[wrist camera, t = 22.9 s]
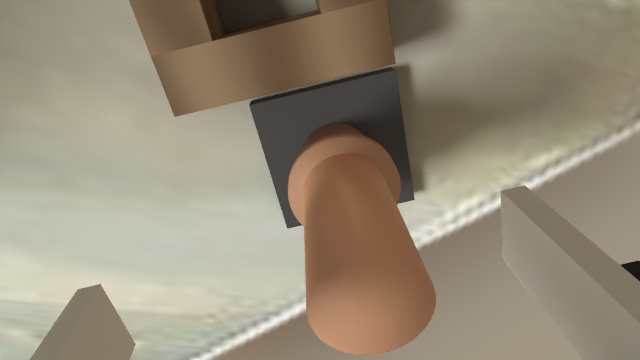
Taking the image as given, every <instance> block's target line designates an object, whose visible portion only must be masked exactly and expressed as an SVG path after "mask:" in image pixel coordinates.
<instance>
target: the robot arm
mask: <svg viewBox="0 0 640 360" xmlns="http://www.w3.org/2000/svg"><path fill="white" fill-rule="evenodd" d="M501 215H502V245H503V261H504V262H505V263H506V265H507V266H508V267H509V268H510V270H511V271H512V272H513V274H514V275H515V276H516V277H517V279H518V280H519V281H520V282H521V283H522V285H523V286H524V287H525V289H526V290H527V291H528V292H529V294H530V295H531V296H532V297H533V299H534V300H535V301H536V302H537V304H538V305H539V306H540V307H541V309H542V310H543V311H544V313H545V314H546V315H547V316H548V318H549V319H550V320H551V321H552V323H553V324H554V325H555V326H556V328H557V329H558V330H559V331H560V333H561V334H562V335H563V336H564V338H565V339H566V340H567V342H568V343H569V344H570V345H571V347H572V348H573V349H574V351H575V352H576V353H577V354H578V356H579V357H580V358H581V359H582V360H640V261H635V262H631V263H626V264H622V265H619V264H618V263H617V262H616V261H614V260H613V259H612V258H611V257H610V256H609V255H607V254H606V253H605V252H603V250H601V249H600V248H599V247H598V246H597V245H595V244H594V243H593V242H592V241H591V240H589V239H588V238H587V237H586V236H585V235H583V234H582V233H581V232H580V231H579V230H577V229H576V228H575V227H574V226H573V225H571V224H570V223H569V222H568V221H567V220H566V219H564V218H563V217H562V216H561V215H559V214H558V213H557V212H556V211H555V210H554V209H552V208H551V207H550V206H549V205H548V204H546V203H545V202H544V201H543V200H542V199H540V198H539V197H538V196H537V195H535V194H534V193H533V192H532V191H531V190H530V189H528V188H527V187H526V186H525V185H524V186H520V187H516V188H512V189H507V190H503V191H501ZM134 347H135V342H134V341H133V339H132V337H131V336H130V334H129V332H128V330H127V329H126V327H125V325H124V324H123V322H122V320H121V318H120V317H119V315H118V313H117V312H116V310H115V308H114V306H113V305H112V303H111V301H110V300H109V298H108V296H107V295H106V293H105V291H104V289H103V288H102V286H101V284H99V285H95V286H90V287H86V288H82V289H78V290H77V291H76V293H75V294H74V296H73V297H72V299H71V300H70V302H69V303H68V304H67V306H66V307H65V309H64V310H63V312H62V313H61V315H60V316H59V318H58V319H57V321H56V322H55V324H54V325H53V326H52V328H51V329H50V331H49V332H48V334H47V335H46V337H45V338H44V340H43V341H42V343H41V344H40V346H39V347H38V349H37V350H36V351H35V353H34V354H33V356H32V357H31V359H30V360H129V359H130V356H131V354H132V352H133V349H134Z"/></svg>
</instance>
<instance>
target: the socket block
mask: <svg viewBox="0 0 640 360" xmlns="http://www.w3.org/2000/svg"><path fill="white" fill-rule="evenodd" d="M129 1H130V4H131V7H132V9H133V12H134V14H135V17H136V19H137V22H138V24H139V27H140V29H141V32H142V35H143V37H144V40H145V42H146V45H147V47H148V50H149V52H150V55H151V57H152V60H153V63H154V65H155V68H156V70H157V73H158V75H159V78H160V80H161V83H162V85H163V88H164V91H165V93H166V96H167V98H168V101H169V103H170V106H171V108H172V111H173V113H174V116H175V117H176V116H180V115H184V114H188V113H193V112H197V111H201V110H205V109H209V108H213V107H217V106H221V105H226V104H230V103H234V102H238V101H242V100H246V99H250V98H255V97H259V96H263V95H267V94H271V93H275V92H279V91H283V90H288V89H292V88H296V87H300V86H304V85H308V84H312V83H317V82H321V81H325V80H329V79H333V78H337V77H341V76H345V75H350V74H354V73H358V72H362V71H366V70H370V69H374V68H379V67H383V66H387V65H391V64H395V57H394V50H393V43H392V36H391V29H390V23H389V16H388V9H387V2H386V0H316V3H317V7H318V10H317V11H313V12H309V13H305V14H301V15H297V16H293V17H289V18H285V19H281V20H277V21H273V22H269V23H265V24H261V25H257V26H253V27H249V28H245V29H241V30H237V31H233V32H229V33H225V32H224V28H223V25H222V22H221V19H220V16H219V12H218V9H217V6H216V3H215V0H129Z"/></svg>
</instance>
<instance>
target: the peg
mask: <svg viewBox="0 0 640 360" xmlns="http://www.w3.org/2000/svg"><path fill="white" fill-rule="evenodd" d="M400 193H401V182H400V176H399V173H398V170H397V168H396V166H395V164H394V162H393V160H392V158H391V157H390V155H389V154H388V152H387V151H386V150H385V149H384V148H383V147H382V146H381V145H380V144H379V143H377V142H376V141H375V140H373V139H371V138H369V137H367V136H364V135H363V134H362V133H361V132H360V131H359V130H358V129H357V128H355V127H353V126H351V125H348V124H345V123H330V124H326V125H323V126H321V127H319V128H318V129H316V130H315V131H314V132H312V133H311V134H310V136H309V137H308V138H307V140H306V142H305V144H304V147H303V150H302V151H301V152H300V154H299V155H298V156H297V158H296V159H295V161H294V163H293V165H292V167H291V170H290V174H289V181H288V199H289V203H290V207H291V209H292V212H293V213H294V215H295V217H296V218H297V220H298V221H299V222H300V223H301V224H302V225H303V226H304V238H305V273H306V308H307V317H308V321H309V324H310V326H311V328H312V330H313V331H314V333H315V334H316V335H317V336H318V337H319V338H320V339H321V340H322V341H323V342H324V343H326V344H327V345H329V346H330V347H332V348H334V349H337V350H339V351H342V352H346V353H351V354H357V355H372V354H380V353H384V352H388V351H391V350H394V349H396V348H399V347H401V346H403V345H405V344H407V343H408V342H410V341H412V340H413V339H414V338H415V337H417V336H418V335H419V334H420V333H421V332H422V331H423V330H424V329H425V327H426V326H427V325H428V323H429V321H430V320H431V317H432V315H433V312H434V309H435V303H436V295H435V290H434V287H433V284H432V282H431V280H430V277H429V275H428V273H427V271H426V269H425V266H424V264H423V262H422V260H421V258H420V256H419V253H418V251H417V249H416V247H415V244H414V242H413V240H412V238H411V236H410V234H409V231H408V229H407V227H406V225H405V223H404V220H403V218H402V216H401V214H400V212H399V209H398V207H397V204H398V201H399V198H400Z"/></svg>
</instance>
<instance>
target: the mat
mask: <svg viewBox="0 0 640 360" xmlns="http://www.w3.org/2000/svg"><path fill="white" fill-rule="evenodd" d="M250 109H251V112H252V115H253V118H254V122H255V125H256V128H257V131H258V135H259V138H260V141H261V144H262V148H263V151H264V154H265V157H266V161H267V164H268V167H269V170H270V174H271V177H272V180H273V183H274V187H275V190H276V193H277V196H278V199H279V203H280V206H281V209H282V212H283V216H284V219H285V222H286V225H287V228H292V227H296V226H300V225H302V224H301V223H300V222H299V221H298V220H297V218H296V217H295V215H294V213H293V212H292V209H291V207H290V203H289V199H288V181H289V174H290V170H291V167H292V165H293V163H294V161H295V159H296V158H297V156H298V155H299V154H300V152H301V151H302V150H303V147H304V144H305V142H306V140H307V138H308V137H309V136H310V134H311V133H312V132H314V131H315V130H316V129H318V128H319V127H321V126H323V125H326V124H330V123H345V124H348V125H351V126H353V127H355V128H357V129H358V130H359V131H360V132H361V133H362V134H363V135H364V136H367V137H369V138H371V139H373V140H375V141H376V142H377V143H379V144H380V145H381V146H382V147H383V148H384V149H385V150H386V151H387V152H388V154H389V155H390V157H391V158H392V160H393V162H394V164H395V166H396V168H397V170H398V173H399V176H400V182H401V193H400V198H399V201H398V203H403V202H407V201H411V200H414V194H413V187H412V180H411V174H410V167H409V160H408V153H407V146H406V140H405V133H404V126H403V119H402V113H401V106H400V99H399V92H398V86H397V79H396V72H395V69H393V68H392V67H390V68H386V69H382V70H378V71H374V72H369V73H365V74H361V75H357V76H353V77H349V78H345V79H340V80H336V81H332V82H328V83H324V84H320V85H316V86H311V87H307V88H303V89H299V90H295V91H291V92H287V93H282V94H278V95H274V96H270V97H266V98H262V99H258V100H253V101H251V102H250Z"/></svg>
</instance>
